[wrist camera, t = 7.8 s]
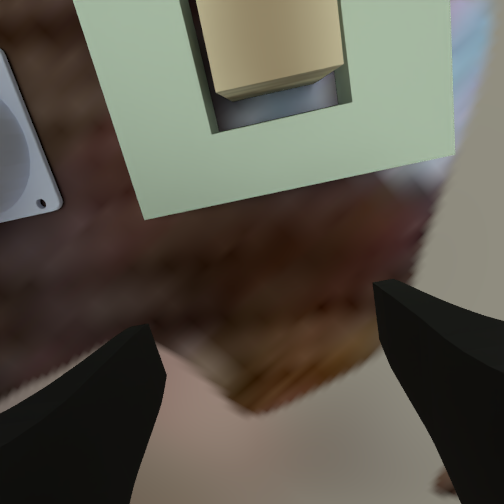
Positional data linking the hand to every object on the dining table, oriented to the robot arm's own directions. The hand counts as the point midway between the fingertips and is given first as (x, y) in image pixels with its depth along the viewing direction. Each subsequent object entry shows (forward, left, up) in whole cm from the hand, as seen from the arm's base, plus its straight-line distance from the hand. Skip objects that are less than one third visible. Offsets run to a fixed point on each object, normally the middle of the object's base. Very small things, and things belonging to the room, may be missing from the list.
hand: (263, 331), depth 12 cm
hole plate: (+2, +9, -9) cm, 13 cm away
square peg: (+2, +9, -10) cm, 13 cm away
